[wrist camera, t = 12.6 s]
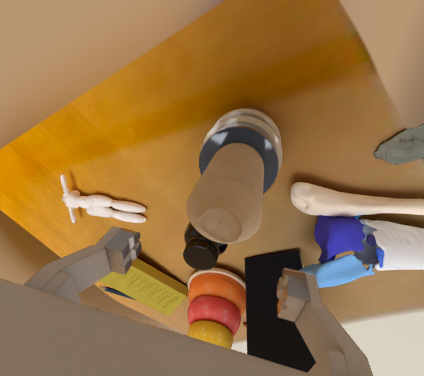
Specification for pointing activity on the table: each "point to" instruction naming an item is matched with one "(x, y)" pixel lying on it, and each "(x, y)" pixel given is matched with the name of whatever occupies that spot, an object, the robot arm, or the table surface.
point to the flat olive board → (148, 287)
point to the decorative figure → (101, 205)
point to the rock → (403, 147)
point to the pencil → (116, 292)
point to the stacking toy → (215, 305)
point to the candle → (229, 195)
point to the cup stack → (246, 139)
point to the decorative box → (273, 313)
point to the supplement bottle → (201, 249)
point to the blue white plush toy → (359, 234)
